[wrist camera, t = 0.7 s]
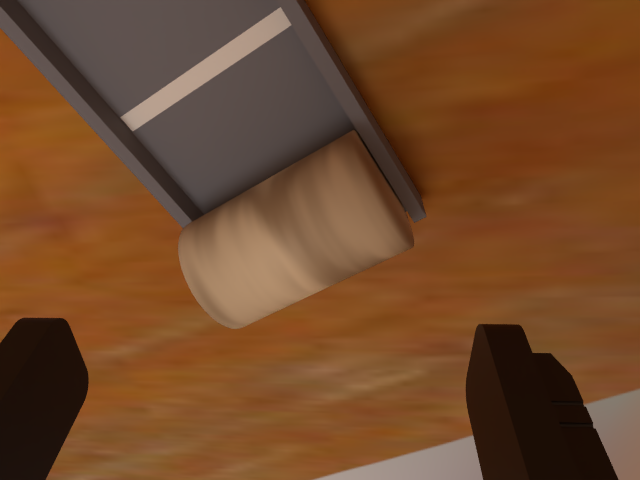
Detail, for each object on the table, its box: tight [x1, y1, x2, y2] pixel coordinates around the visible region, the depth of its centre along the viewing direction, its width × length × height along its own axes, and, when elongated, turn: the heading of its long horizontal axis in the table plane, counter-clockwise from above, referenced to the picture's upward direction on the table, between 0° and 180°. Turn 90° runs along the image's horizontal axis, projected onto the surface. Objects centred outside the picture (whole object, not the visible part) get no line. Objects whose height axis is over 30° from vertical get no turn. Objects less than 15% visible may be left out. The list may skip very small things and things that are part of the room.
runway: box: [0, 0, 426, 228], centre depth 27 cm, size 13×26×6 cm, turn 32°
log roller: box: [178, 130, 414, 329], centre depth 30 cm, size 11×7×7 cm, turn 122°
